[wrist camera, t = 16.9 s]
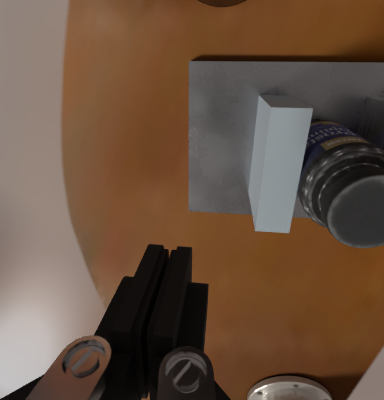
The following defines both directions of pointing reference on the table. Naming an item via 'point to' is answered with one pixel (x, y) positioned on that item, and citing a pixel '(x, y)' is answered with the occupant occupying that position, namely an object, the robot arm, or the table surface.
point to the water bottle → (221, 2)
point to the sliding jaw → (277, 160)
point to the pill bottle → (343, 184)
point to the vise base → (247, 112)
